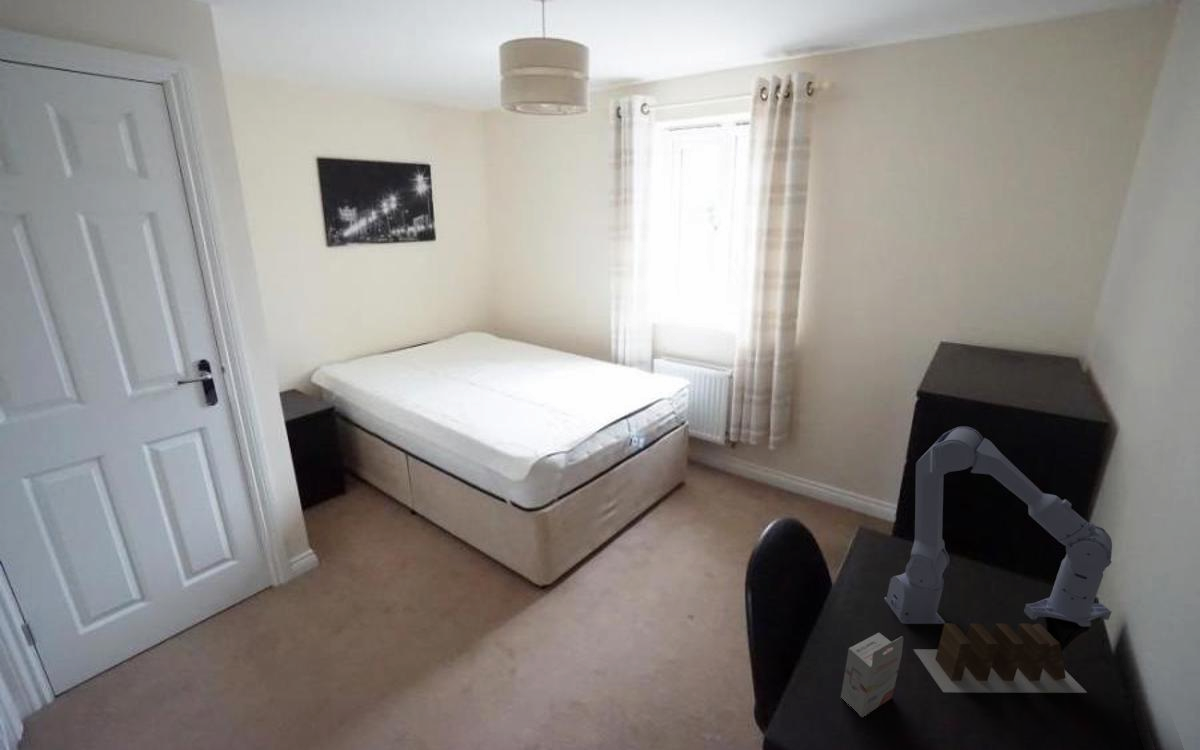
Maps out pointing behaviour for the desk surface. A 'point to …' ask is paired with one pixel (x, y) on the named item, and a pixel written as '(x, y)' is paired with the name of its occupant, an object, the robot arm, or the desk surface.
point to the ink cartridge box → (871, 673)
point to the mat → (995, 680)
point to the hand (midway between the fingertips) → (1055, 646)
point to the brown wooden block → (1052, 655)
